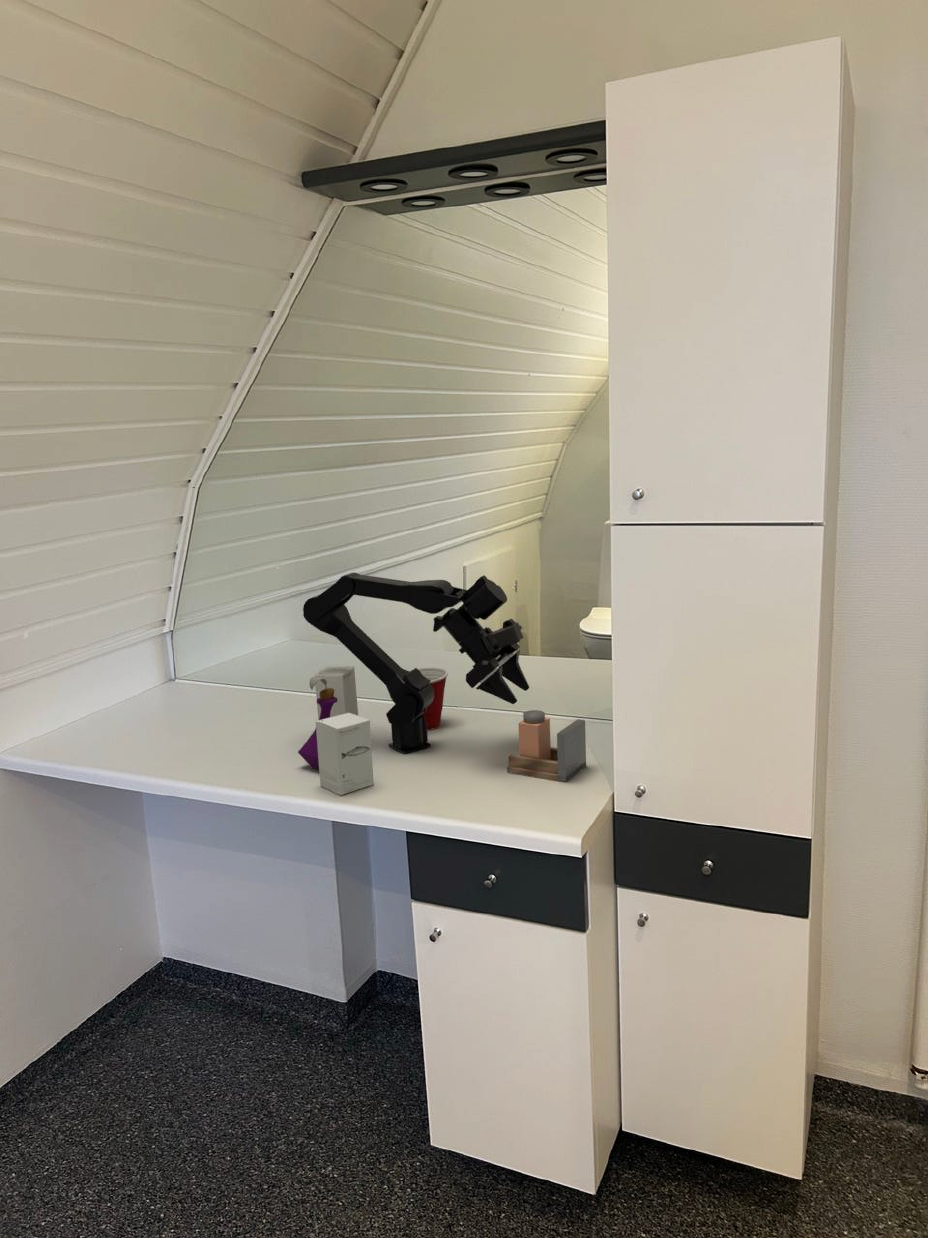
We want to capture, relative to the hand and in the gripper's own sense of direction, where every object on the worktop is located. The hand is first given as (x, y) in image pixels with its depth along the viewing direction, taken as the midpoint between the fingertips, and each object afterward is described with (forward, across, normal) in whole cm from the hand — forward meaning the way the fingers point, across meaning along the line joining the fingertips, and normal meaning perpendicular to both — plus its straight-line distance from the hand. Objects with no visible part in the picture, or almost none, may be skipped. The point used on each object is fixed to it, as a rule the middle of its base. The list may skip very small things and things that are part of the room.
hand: (521, 696), depth 181 cm
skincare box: (-16, 0, +38) cm, 42 cm away
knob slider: (+11, -6, +4) cm, 13 cm away
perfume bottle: (-14, -14, +36) cm, 40 cm away
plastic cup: (-7, +13, +27) cm, 31 cm away
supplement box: (-8, -22, +29) cm, 37 cm away
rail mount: (+14, -7, +2) cm, 16 cm away
